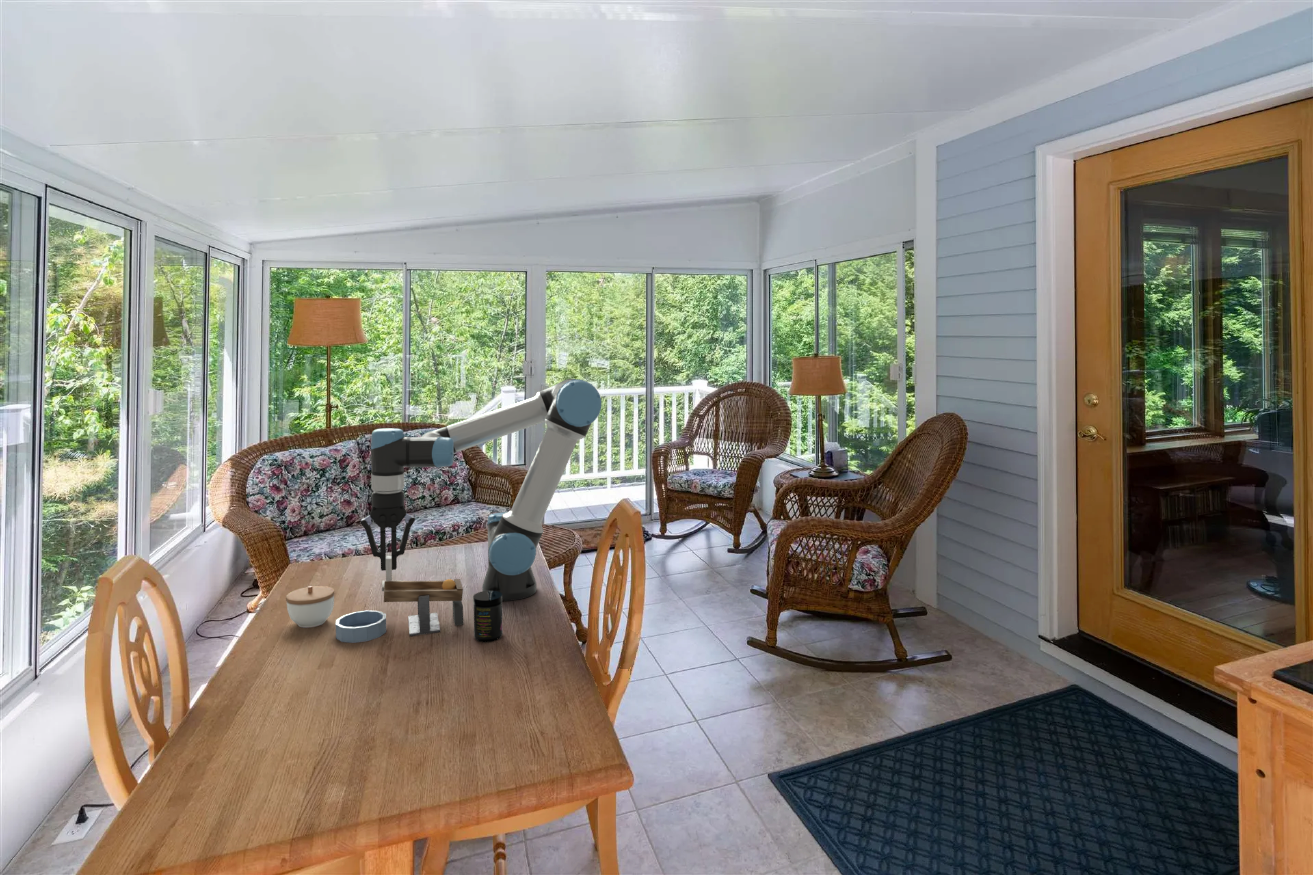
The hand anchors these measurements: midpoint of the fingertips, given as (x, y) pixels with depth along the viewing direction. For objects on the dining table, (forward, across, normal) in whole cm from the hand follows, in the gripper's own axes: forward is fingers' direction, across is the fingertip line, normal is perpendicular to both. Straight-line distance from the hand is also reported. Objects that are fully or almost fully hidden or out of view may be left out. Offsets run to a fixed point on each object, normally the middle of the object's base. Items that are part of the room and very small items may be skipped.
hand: (388, 582), depth 168 cm
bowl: (+10, +6, +7) cm, 14 cm away
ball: (0, -14, +7) cm, 16 cm away
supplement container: (+9, -22, +20) cm, 31 cm away
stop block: (+9, -16, +7) cm, 20 cm away
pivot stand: (+9, -8, +7) cm, 14 cm away
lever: (+2, -8, +4) cm, 9 cm away
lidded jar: (+10, +18, -4) cm, 21 cm away
